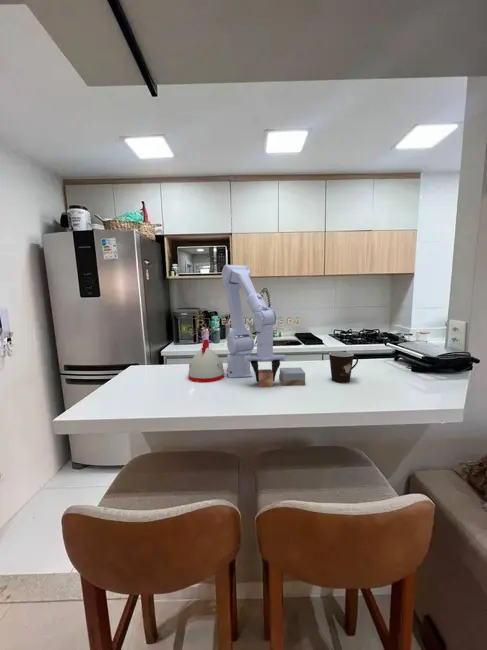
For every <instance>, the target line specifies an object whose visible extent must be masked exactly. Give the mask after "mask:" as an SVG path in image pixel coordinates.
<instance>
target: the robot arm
mask: <svg viewBox="0 0 487 650" xmlns="http://www.w3.org/2000/svg"><path fill="white" fill-rule="evenodd" d="M221 279H222V284H223V288H225V291H226V297H227V298H226V299H227V304H228V305H227V306H228V311H229V315H230V323H231V328H232V330H231V331H230V332H229V333H228V334H227V342H226V346H227V350H228V351H229V353H227V355H226V356H227V367H226V372H227V378H248V377H252V376H253V374H252V371H251V367H252V369H253V371H254V375H255V381H256V383H258V382H259V377H258V370H259V362H271V370H272V372H273V382H275V380H276V379H275V378H276V375H277V372H278V370H279V369H280V366H281V362H286V359H287V358H286V355H285V354H275V353H274V348H273V347H274V335H273V334H274V325H275V324H276V322H277V314H276V312H275V310H274V309H272V308H270V306H268V305H267V303H266V301H265V299H264V297H263V296H262V294H261V293H258V292H257V291H256V289H255V287H254V284H253V282H252V279H251V270H250V268H249V266H248V265H247V264H244V265H243V264H228V263H227V264H224V266H223V268H222V271H221ZM241 288H242V290H243V292H244V293H245V295H246V296H247V299H246V303H247V305H248V306H249V308H250V310H251V312H252V315H253V318H252V321H253V324H254V329H255V330H254V331H255V332H256V354H253V355H251V353H252V352H253V350H254V349H255V339H254V338H253V335H252V331H250V330H249V329H247V328H246V326H245V325H246V324H245V318H244V311H243V307H242V302H241V296H240V289H241ZM280 361H281V362H280Z"/></svg>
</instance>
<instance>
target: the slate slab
mask: <svg viewBox="0 0 487 650" xmlns="http://www.w3.org/2000/svg"><path fill="white" fill-rule="evenodd" d="M279 374H280V376H281V378H282V380H305V381H306V372H305V371H304V370H303V368H302V367H299V366H298V367H279Z"/></svg>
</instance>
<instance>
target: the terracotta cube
mask: <svg viewBox="0 0 487 650" xmlns="http://www.w3.org/2000/svg"><path fill="white" fill-rule="evenodd" d="M258 377H259V382H257V385H258V387H259V388H273V387H274V381H273V372H272V368H271V369H270V368H269V369H258Z"/></svg>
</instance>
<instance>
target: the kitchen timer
mask: <svg viewBox="0 0 487 650" xmlns="http://www.w3.org/2000/svg"><path fill="white" fill-rule="evenodd" d="M188 365H189V366H188V374H187V375H188V379H189V381H190V382H193V383H214V382H218V381H221V380H223V379H224V378H225V371H224V365H223V359H222V358H220V357H219V355H218V354H217V353H216V352H215V351H214V350H212V349H211V348H210V341H209V339H203V343H202V347H201V348H200V349H199V350H198V351H197V352H196V353H195V355H194V356H193V358H192V359H191V360H190V361H189V364H188Z"/></svg>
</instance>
